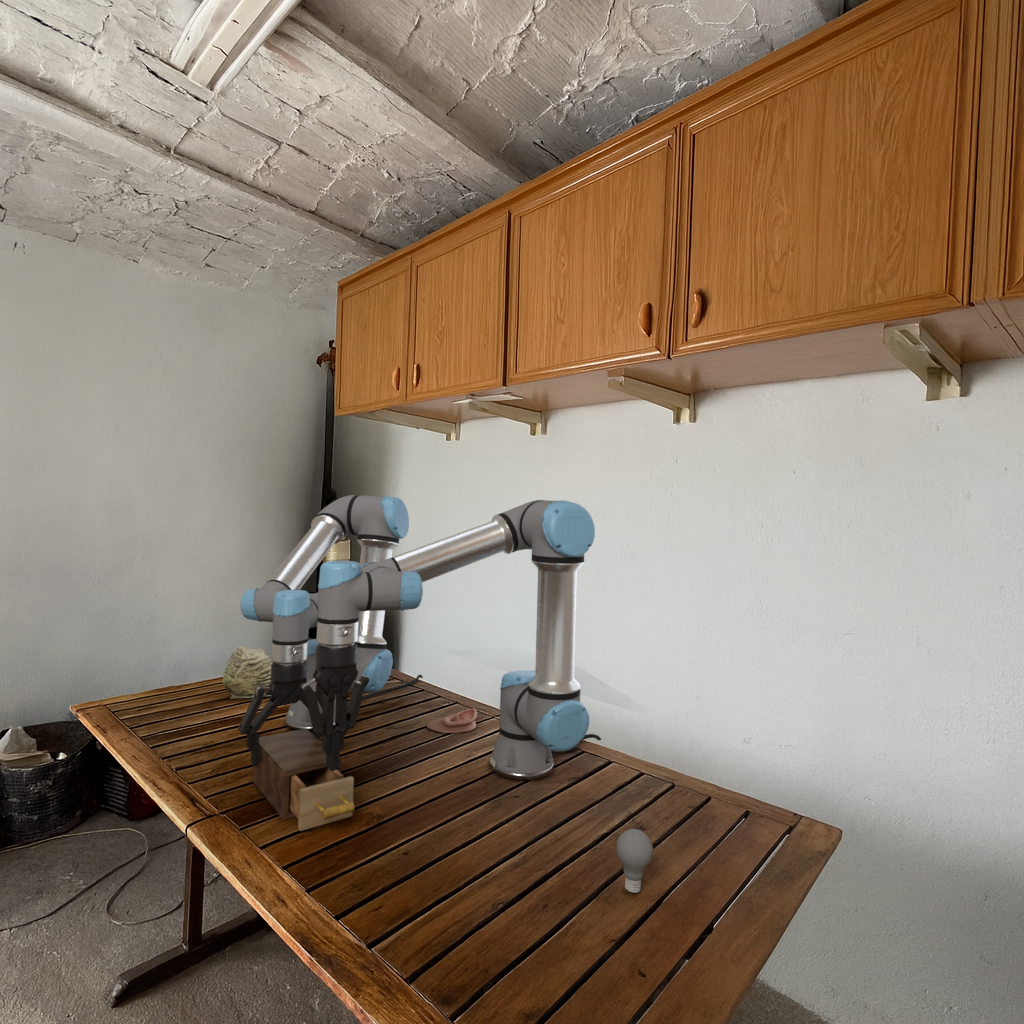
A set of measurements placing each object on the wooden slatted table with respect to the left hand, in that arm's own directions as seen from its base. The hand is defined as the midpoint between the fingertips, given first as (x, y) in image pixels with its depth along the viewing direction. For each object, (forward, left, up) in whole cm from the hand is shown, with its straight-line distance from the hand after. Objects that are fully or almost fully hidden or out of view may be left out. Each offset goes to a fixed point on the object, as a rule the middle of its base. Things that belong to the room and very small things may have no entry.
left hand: (286, 757), depth 140 cm
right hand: (+6, +25, +7) cm, 27 cm away
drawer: (+4, +17, -5) cm, 18 cm away
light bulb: (-17, +76, -6) cm, 79 cm away
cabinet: (+1, +6, -5) cm, 8 cm away
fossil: (-26, -60, -6) cm, 66 cm away
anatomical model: (-50, +2, -6) cm, 51 cm away
